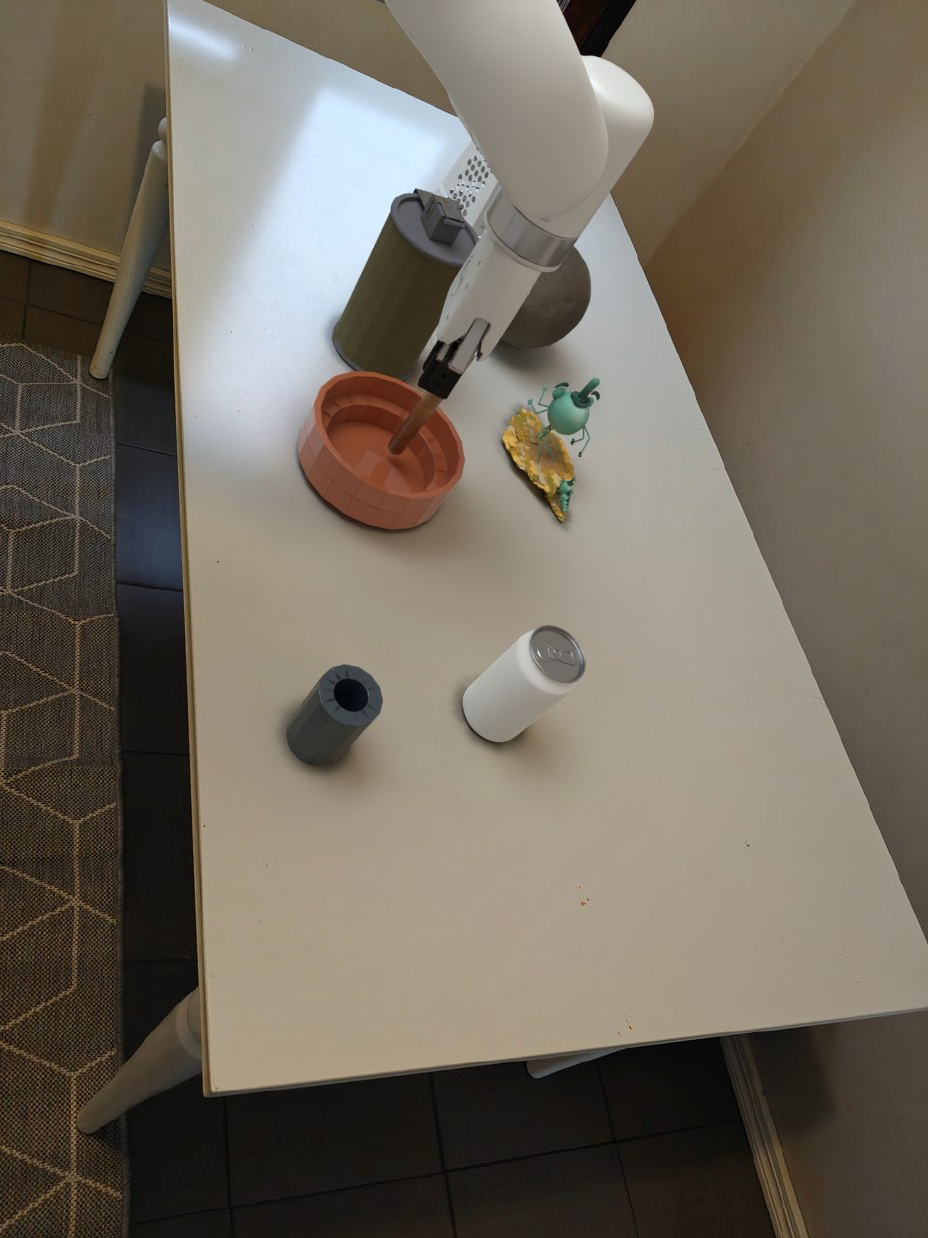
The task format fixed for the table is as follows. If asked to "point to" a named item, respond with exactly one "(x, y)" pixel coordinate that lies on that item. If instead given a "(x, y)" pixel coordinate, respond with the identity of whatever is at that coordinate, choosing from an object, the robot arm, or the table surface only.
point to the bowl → (378, 451)
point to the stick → (415, 421)
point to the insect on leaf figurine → (551, 442)
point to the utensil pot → (334, 714)
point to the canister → (404, 284)
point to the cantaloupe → (552, 305)
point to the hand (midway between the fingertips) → (434, 382)
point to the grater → (471, 171)
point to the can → (524, 683)
